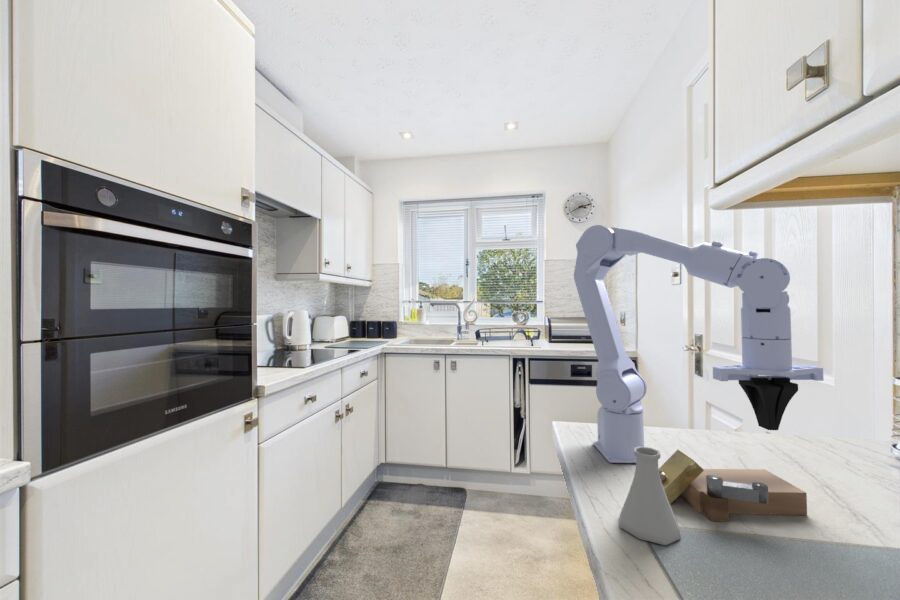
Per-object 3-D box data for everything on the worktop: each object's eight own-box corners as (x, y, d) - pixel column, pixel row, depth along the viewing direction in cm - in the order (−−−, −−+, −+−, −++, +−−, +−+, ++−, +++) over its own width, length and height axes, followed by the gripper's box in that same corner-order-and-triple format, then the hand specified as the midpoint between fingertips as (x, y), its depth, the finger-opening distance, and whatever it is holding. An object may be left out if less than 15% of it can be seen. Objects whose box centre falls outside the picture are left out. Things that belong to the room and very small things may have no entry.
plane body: (672, 487, 57) (671, 468, 57) (765, 489, 57) (765, 469, 57) (708, 520, 49) (707, 498, 49) (819, 522, 48) (818, 499, 48)
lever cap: (655, 490, 57) (643, 478, 57) (687, 458, 56) (674, 446, 57) (669, 504, 53) (656, 491, 53) (704, 470, 53) (690, 457, 53)
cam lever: (764, 497, 48) (764, 481, 48) (771, 505, 47) (770, 487, 47) (705, 489, 51) (704, 474, 51) (709, 496, 49) (708, 479, 49)
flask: (609, 528, 48) (607, 451, 48) (629, 506, 53) (627, 436, 53) (672, 555, 42) (670, 468, 43) (688, 527, 47) (686, 450, 48)
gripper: (734, 341, 52) (737, 437, 52) (843, 339, 51) (846, 437, 51) (703, 336, 59) (705, 421, 59) (798, 335, 58) (800, 421, 58)
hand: (768, 428), depth 55 cm, fingers closed
